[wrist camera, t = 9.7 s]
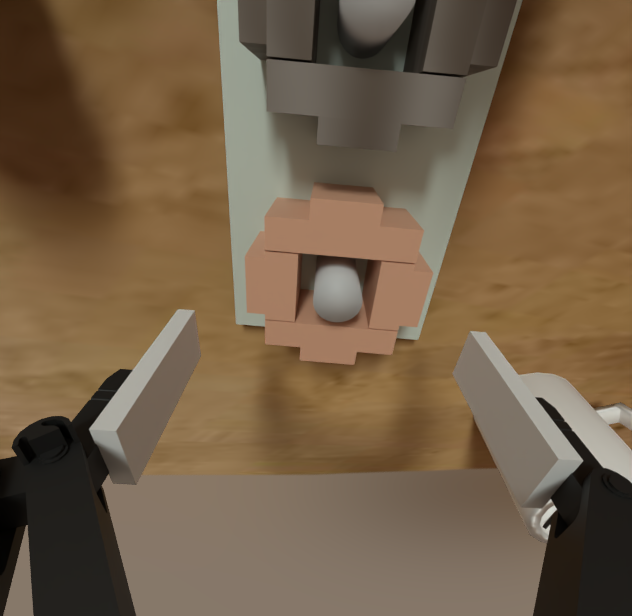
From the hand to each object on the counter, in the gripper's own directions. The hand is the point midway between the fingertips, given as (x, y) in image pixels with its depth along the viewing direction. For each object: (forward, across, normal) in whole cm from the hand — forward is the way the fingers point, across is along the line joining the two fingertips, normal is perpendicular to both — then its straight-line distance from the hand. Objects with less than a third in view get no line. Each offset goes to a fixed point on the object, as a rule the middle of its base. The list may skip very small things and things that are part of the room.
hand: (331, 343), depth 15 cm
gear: (+10, +1, 0) cm, 10 cm away
